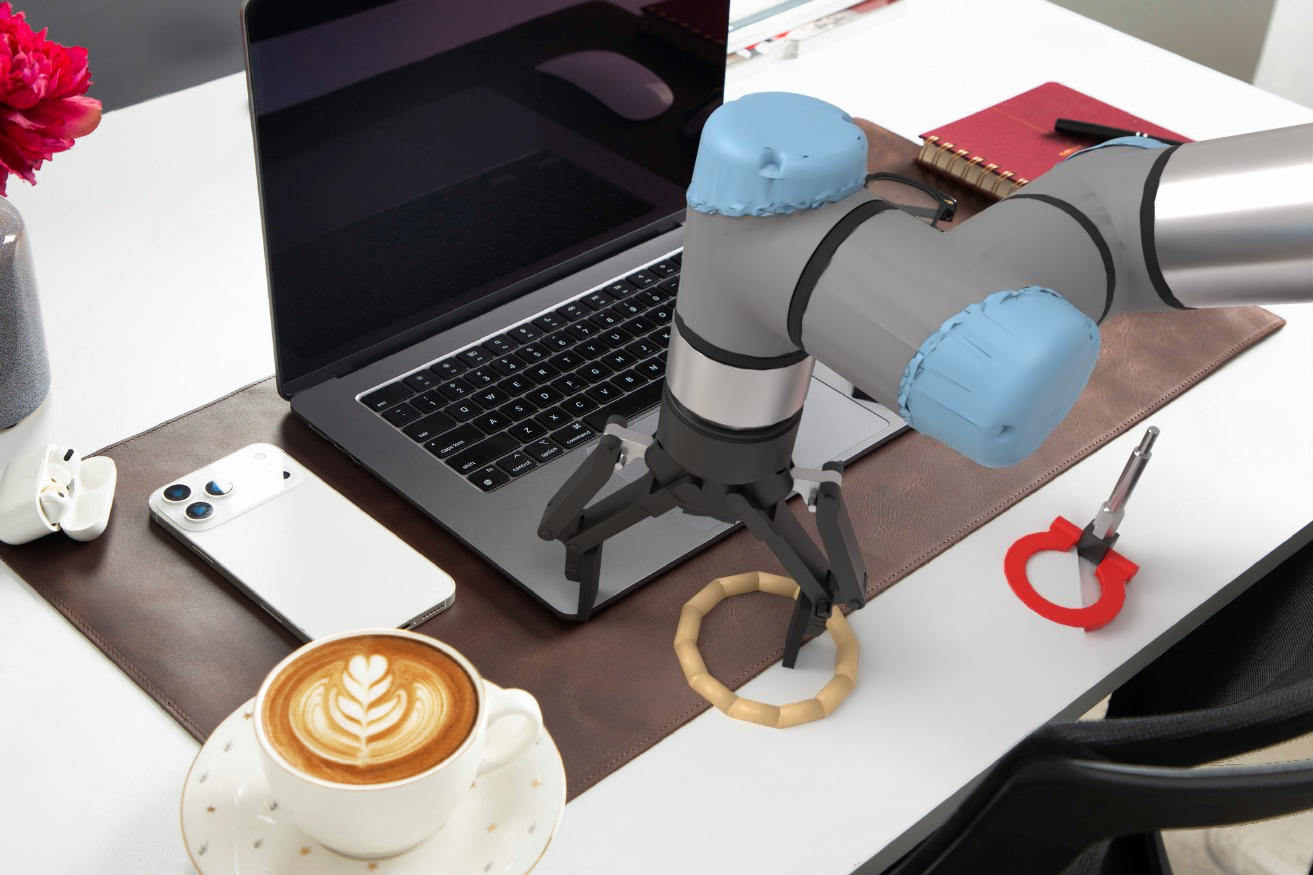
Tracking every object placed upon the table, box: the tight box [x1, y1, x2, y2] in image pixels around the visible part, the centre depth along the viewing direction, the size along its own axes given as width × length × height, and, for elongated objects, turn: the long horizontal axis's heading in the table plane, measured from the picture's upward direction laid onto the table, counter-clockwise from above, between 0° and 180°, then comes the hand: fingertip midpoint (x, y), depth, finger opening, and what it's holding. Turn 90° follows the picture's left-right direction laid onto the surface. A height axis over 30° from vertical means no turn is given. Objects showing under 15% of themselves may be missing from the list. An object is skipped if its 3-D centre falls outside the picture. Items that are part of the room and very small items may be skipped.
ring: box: [673, 570, 860, 730], centre depth 74 cm, size 12×12×1 cm
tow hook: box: [1003, 425, 1161, 632], centre depth 77 cm, size 8×13×9 cm
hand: (687, 632), depth 75 cm, fingers open, 13 cm apart
